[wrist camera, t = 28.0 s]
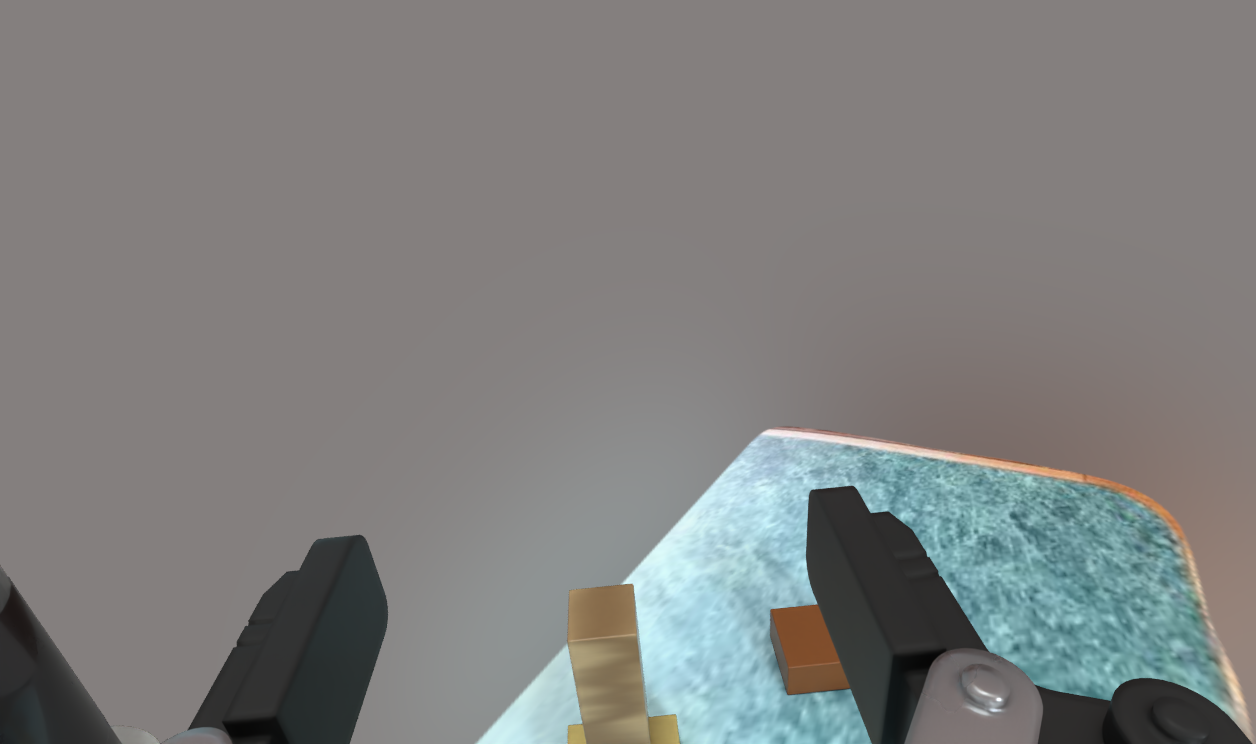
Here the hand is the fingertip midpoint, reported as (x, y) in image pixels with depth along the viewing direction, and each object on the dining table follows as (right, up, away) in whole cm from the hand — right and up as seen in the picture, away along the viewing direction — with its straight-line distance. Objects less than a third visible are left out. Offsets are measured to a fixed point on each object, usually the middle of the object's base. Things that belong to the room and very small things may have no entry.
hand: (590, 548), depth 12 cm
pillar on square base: (+1, -19, +24) cm, 31 cm away
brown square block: (+12, -15, +30) cm, 36 cm away
